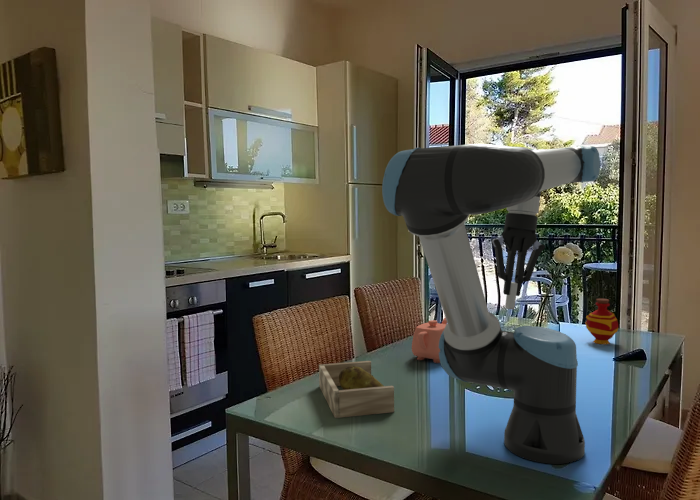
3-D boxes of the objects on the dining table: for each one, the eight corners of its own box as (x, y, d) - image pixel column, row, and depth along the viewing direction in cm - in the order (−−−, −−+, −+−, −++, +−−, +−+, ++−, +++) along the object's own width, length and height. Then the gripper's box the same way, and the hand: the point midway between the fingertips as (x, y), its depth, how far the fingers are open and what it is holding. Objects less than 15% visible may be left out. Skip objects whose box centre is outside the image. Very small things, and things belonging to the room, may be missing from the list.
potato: (363, 412, 128) (363, 379, 127) (334, 396, 138) (333, 366, 138) (391, 404, 132) (391, 372, 132) (360, 390, 143) (360, 360, 142)
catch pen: (394, 412, 127) (394, 387, 127) (334, 418, 124) (334, 392, 124) (370, 381, 149) (370, 360, 149) (319, 386, 146) (318, 364, 146)
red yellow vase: (619, 340, 189) (621, 298, 187) (616, 347, 180) (617, 303, 179) (587, 337, 194) (588, 295, 193) (582, 343, 186) (583, 300, 184)
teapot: (437, 368, 160) (437, 328, 159) (402, 362, 167) (402, 324, 166) (464, 352, 177) (464, 316, 176) (431, 347, 184) (430, 312, 182)
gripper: (542, 216, 137) (530, 309, 138) (491, 210, 137) (479, 303, 138) (554, 216, 130) (541, 313, 131) (500, 210, 129) (487, 307, 130)
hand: (509, 308), depth 134 cm, fingers closed
